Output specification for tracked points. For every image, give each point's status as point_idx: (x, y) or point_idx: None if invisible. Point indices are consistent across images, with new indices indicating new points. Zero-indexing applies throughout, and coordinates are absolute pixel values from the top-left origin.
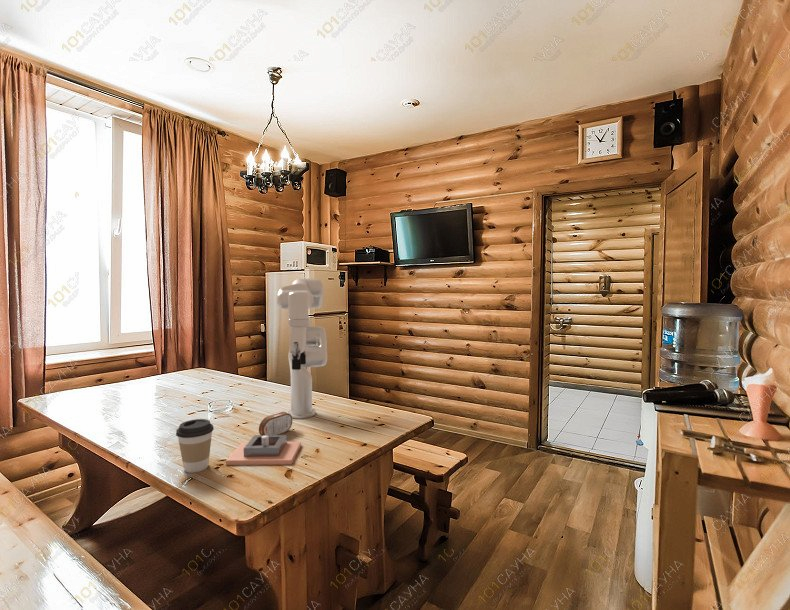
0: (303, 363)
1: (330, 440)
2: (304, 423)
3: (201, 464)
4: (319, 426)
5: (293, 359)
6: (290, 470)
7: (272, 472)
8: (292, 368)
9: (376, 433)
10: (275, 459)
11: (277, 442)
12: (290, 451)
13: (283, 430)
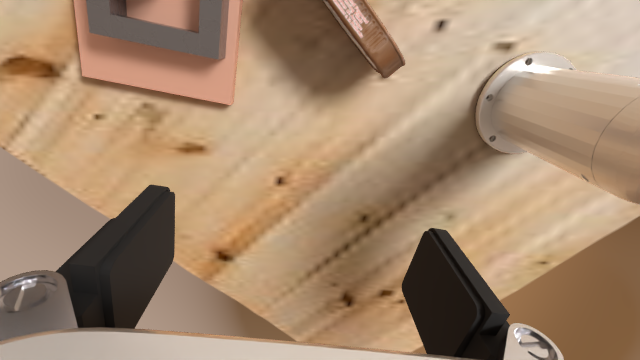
0: (408, 279)
1: (262, 184)
2: (426, 113)
3: None
4: (382, 159)
5: (73, 282)
6: (49, 72)
7: (27, 15)
8: (149, 191)
9: (291, 285)
10: (81, 22)
11: (141, 25)
12: (150, 72)
13: (354, 40)
